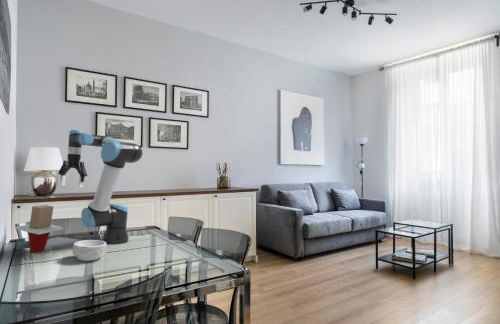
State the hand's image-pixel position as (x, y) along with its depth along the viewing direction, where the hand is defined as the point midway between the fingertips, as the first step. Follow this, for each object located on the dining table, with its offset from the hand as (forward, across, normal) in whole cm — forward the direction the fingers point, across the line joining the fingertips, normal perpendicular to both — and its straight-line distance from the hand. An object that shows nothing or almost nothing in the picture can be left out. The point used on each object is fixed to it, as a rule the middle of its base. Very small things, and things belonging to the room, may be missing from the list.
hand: (71, 186), depth 201 cm
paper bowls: (+32, +45, -35) cm, 65 cm away
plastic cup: (+32, +15, -36) cm, 50 cm away
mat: (+32, +10, -18) cm, 38 cm away
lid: (+20, +15, -36) cm, 44 cm away
